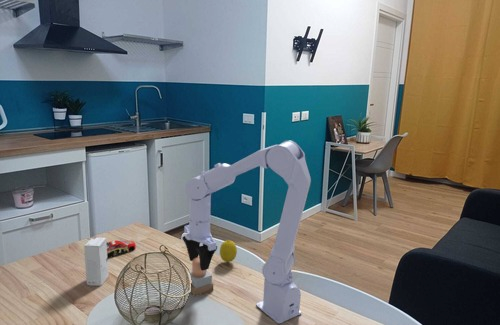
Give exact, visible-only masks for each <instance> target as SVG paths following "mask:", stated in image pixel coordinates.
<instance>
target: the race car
mask: <svg viewBox="0 0 500 325" xmlns="http://www.w3.org/2000/svg"><path fill="white" fill-rule="evenodd" d="M106 245H107V259H110V258H112V257H115V256H119V255H122V254H125V253H129V252H133V250H135V249H136V246H137V245H136V243H135V241H132V240H122V241H121V240H117V239H115V240H112V241H108V242H106Z"/></svg>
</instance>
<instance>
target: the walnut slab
mask: <svg viewBox="0 0 500 325" xmlns="http://www.w3.org/2000/svg"><path fill="white" fill-rule="evenodd" d="M213 291H214V282H212V283H211V284H208V285H205V286H202V287H199V288H195V287H194V286H193V285H192V284H191V293H190V294H191V295H192V296H193V295H194V296H193V297H194V298H195V297H198V296H201V295H203V294H206V293H209V292H213Z"/></svg>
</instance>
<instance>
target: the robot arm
mask: <svg viewBox="0 0 500 325" xmlns="http://www.w3.org/2000/svg"><path fill="white" fill-rule="evenodd" d="M257 167H261V168H263V169H268V168H270V169H271V170H272V171H273V172H274V173H276V174H277V175H278V176H280V177H281V178H283V180H284V182H285V184H287V187H288V188H287V192H286V196H285V200H284V204H283V208H282V211H281V212H282V213H281V216H280V220H279V224H278V228H277V231H276V232H277V233H276V235H275V236H276V237H275V241H274V244H273V247H272V249H271V251H270V253H269V257H268V259H267V261H266V262H265V263H264V264H263V266H262V270H261V271H262V275H263V278H264V279H263V280H264V283H263V300H261V301H259V302H256V305H255V306H256V307H258V308H259V309H260V310H261V311H262V312H263V313H265V314H266V315H267V316H268V317H270V318H271V319H272V320H273V321H274V322H276V323H277V324H282V323H284V322H286V321H288V320H290V319H292V318H296V317H297V316H299V315H301V314H302V311H301V310H300V306H301V304H300V303H301V294H302V292H301V289H299V287H298V286H297V285H296V284H295V282H294V280H293V279H294V278H293V273H292V271H291V269H292V268H293V267H294V265H295V262H296V256H295V248H296V246H295V243H296V239H297V235H298V233H299V232H298V231H299V227H300V223H301V220H302V217H303V212H304V209H305V206H306V203H307V202H306V201H307V197H308V193H309V190H310V187H311V182H312V179H311V176H310V175H311V174H310V172H309V169H308V168H309V167H308V165H307V162H306V155H305V152H304V151H303V149H302V148H301V147H300V145H299V144H297V142H295V141H293V140H284V141H282V142H281V143H280V144H274V145H273V144H272V145H271V146H268V147H265V148H261V149H259V150H257V151H255V152H253V153H251V154H249V155H248V156H246V157H244V158H242V159H240V160H239V161H237V162H236V161H235V162H234V163H233V164H229V163H226V162H225V163H224V162H223V163H221V162H218V163H216V164H214V166H213V168H210V169H209V170H207V171H205V170H203V171H202V172H200V175H197V176H195V177H191V179H189V180H188V181H187V183H186V184H185V193H186V195H187V196H188V197H189V201H188V202H189V205H188V206H189V208H188V209H189V211H188V212H189V213H188V216H189V218H188V221H189V222H188V224H186V225H184V228H183V229H184V231H183V232H184V233H185V234H186V235H184V236H182V241H183V243H184V244H185V247H186V249H187V254H188V258H189V261H190V262H192V260H193V259H194V258H198V257H199V259H200V268H201V270H202V271H203V270H209V268H210V265H211V261H212V259H213V256H214V254H215V253H216V251H217V250H218V245H217V242H216V241H215V240H214V238H213V236H212V233H211V206H212V205H211V204H212V203H211V199H212V198H211V197H212V194H213V193H215V192H217V191H219V190H221V189H224V188H226V187H227V186H231V185H232V184H234V182H235V180H236V177H237V176H240V175H242V174H244V173H247V172H248V171H250V170H253V169H255V168H257ZM201 244H202V245H201Z"/></svg>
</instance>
